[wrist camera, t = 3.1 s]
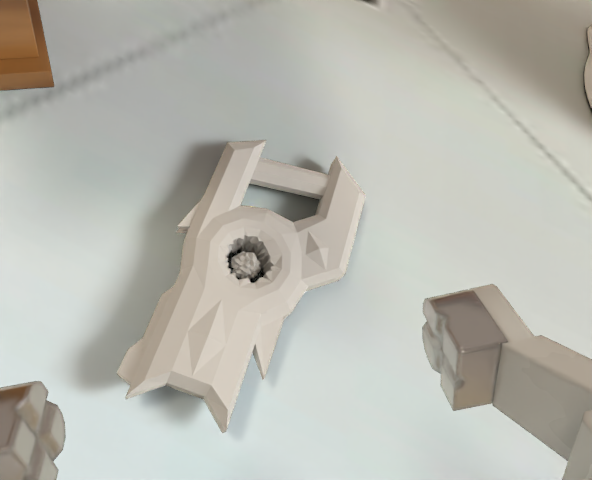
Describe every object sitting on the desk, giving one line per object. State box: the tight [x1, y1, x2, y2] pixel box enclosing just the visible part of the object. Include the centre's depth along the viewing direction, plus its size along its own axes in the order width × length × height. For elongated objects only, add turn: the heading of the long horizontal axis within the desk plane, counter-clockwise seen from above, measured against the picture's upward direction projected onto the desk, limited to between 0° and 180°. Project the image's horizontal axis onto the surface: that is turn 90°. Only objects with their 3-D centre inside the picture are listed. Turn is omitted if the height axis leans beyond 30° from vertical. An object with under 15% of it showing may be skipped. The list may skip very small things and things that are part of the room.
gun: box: [117, 140, 366, 433], centre depth 30 cm, size 18×3×10 cm
